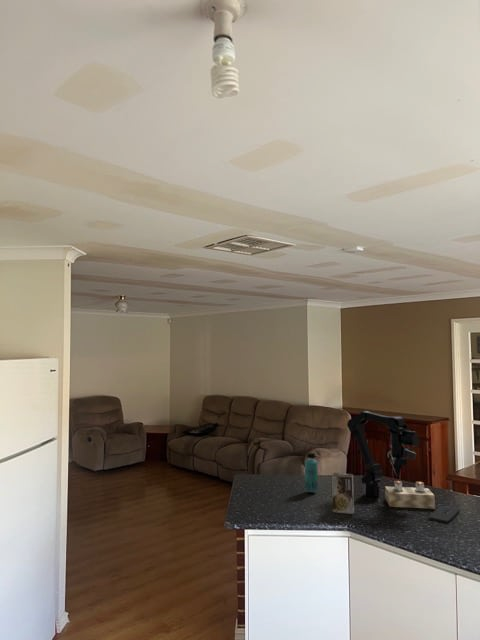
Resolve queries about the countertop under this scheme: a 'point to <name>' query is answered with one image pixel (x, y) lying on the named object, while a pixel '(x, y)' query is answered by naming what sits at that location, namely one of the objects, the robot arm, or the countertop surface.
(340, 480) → the coffee box
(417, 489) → the steel peg
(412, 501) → the birch block
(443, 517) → the smart home device
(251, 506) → the countertop surface
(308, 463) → the beverage bottle
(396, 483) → the steel peg
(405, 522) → the countertop surface
